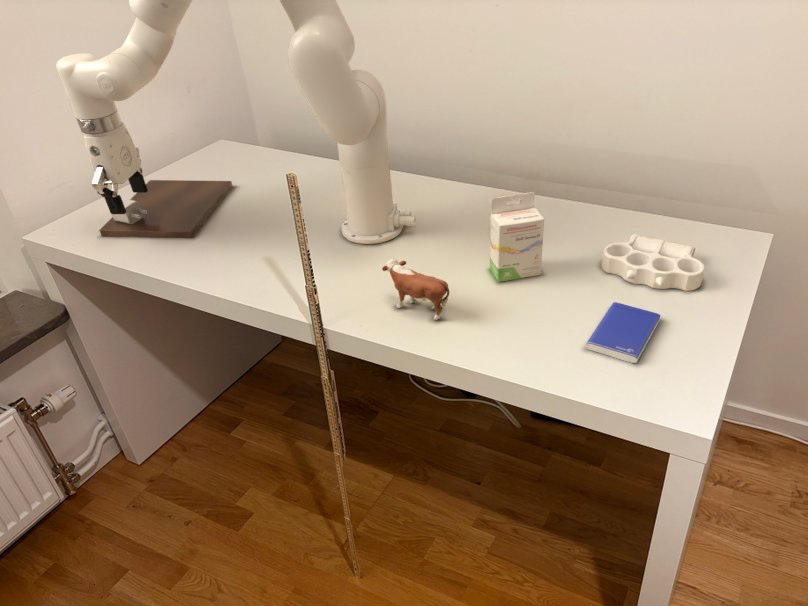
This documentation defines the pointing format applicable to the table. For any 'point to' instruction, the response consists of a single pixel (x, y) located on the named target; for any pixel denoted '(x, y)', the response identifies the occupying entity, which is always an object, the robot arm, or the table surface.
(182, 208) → the walnut board
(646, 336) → the hard drive
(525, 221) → the ink box
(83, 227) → the table surface
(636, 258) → the white brass knuckles
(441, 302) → the bull figurine
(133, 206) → the usb wall charger
